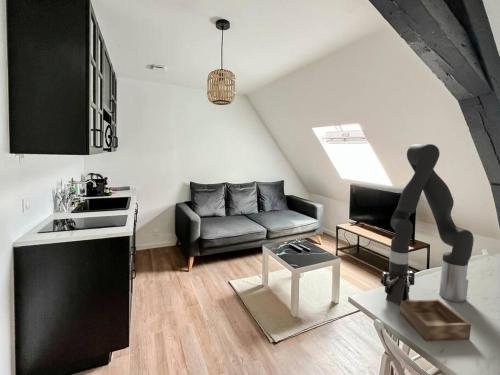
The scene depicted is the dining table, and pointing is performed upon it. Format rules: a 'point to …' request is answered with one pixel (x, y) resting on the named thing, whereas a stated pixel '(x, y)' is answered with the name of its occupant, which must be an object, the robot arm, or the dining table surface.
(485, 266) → the dining table surface
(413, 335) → the dining table surface
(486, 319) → the dining table surface
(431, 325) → the walnut box
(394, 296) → the door stopper
